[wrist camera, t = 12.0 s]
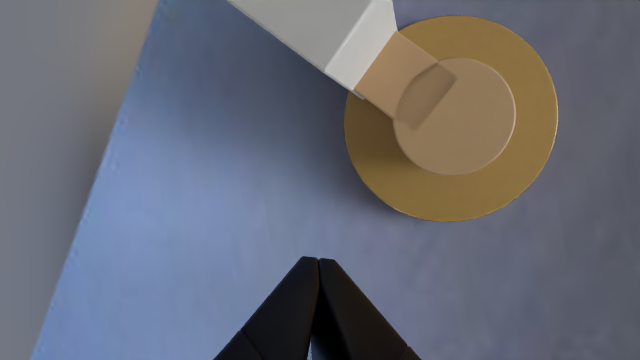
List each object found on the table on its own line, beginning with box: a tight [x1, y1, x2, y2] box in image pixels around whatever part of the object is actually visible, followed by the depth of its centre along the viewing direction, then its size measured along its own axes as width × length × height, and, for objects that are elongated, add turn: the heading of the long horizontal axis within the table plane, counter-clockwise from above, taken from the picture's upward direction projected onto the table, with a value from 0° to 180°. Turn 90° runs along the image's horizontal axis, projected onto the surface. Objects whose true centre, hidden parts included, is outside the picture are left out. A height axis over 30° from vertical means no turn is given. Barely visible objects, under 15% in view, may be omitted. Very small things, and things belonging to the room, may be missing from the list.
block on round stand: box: [227, 0, 516, 176], centre depth 12 cm, size 13×4×7 cm, turn 54°
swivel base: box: [344, 15, 558, 222], centre depth 16 cm, size 8×8×1 cm
